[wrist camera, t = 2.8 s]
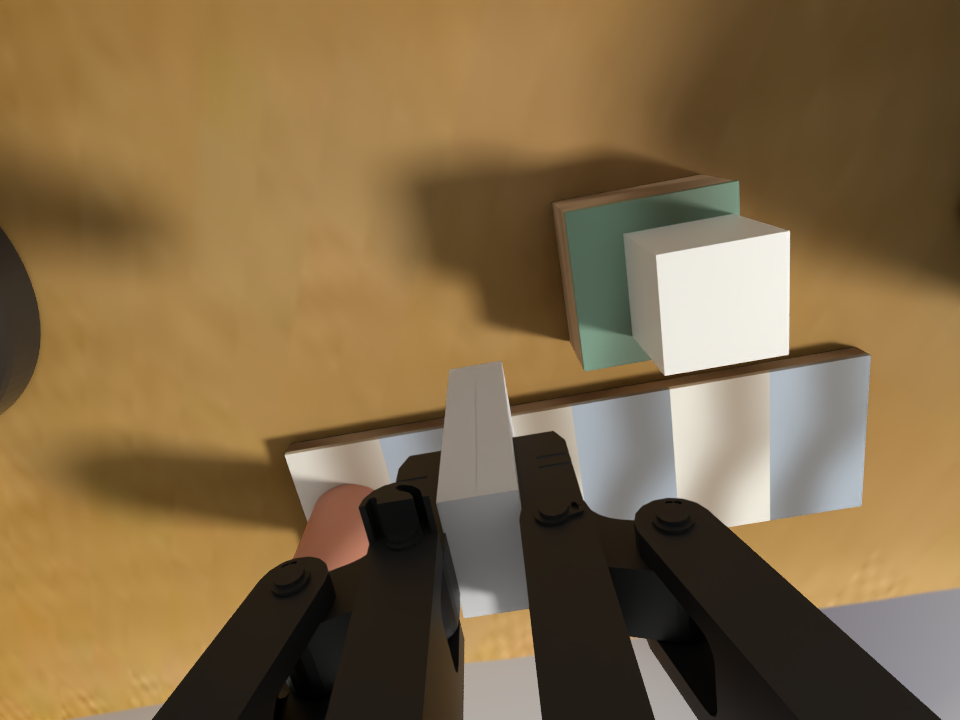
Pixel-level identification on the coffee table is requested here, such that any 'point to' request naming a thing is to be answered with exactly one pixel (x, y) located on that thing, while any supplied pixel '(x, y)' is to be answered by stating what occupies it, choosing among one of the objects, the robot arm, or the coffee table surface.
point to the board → (666, 441)
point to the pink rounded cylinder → (336, 527)
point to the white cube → (709, 292)
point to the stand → (621, 256)
